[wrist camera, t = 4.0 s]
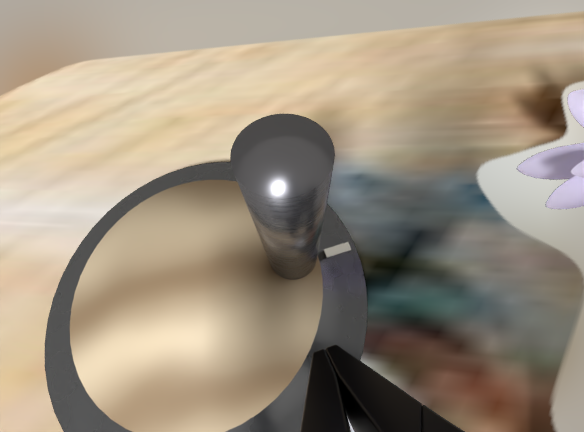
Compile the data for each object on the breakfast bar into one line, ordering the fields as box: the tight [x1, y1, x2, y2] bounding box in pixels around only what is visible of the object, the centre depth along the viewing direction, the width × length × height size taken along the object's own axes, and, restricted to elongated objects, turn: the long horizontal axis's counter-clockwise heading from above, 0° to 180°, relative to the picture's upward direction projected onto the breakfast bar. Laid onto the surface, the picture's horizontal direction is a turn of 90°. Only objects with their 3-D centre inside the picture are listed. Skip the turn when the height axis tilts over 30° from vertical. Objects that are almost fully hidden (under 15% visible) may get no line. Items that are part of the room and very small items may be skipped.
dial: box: [70, 114, 335, 432], centre depth 13 cm, size 15×15×12 cm
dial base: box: [45, 162, 368, 432], centre depth 19 cm, size 21×21×1 cm
